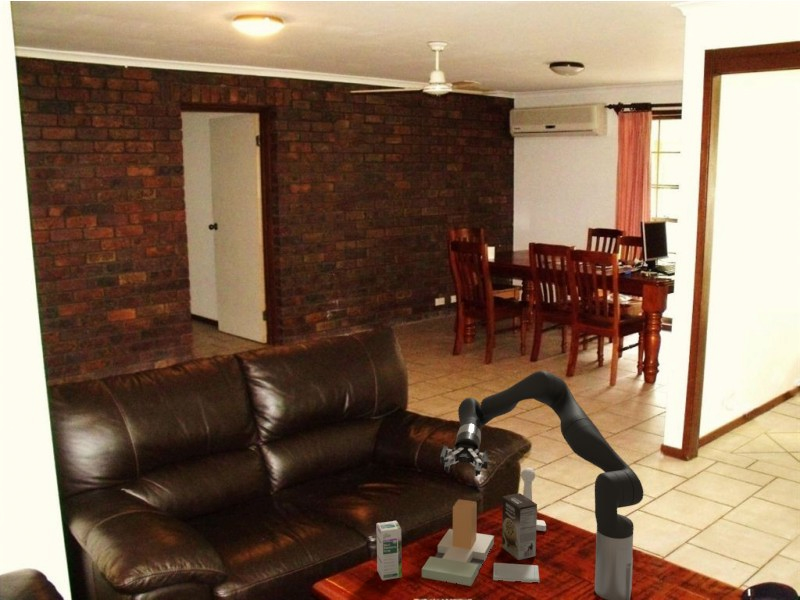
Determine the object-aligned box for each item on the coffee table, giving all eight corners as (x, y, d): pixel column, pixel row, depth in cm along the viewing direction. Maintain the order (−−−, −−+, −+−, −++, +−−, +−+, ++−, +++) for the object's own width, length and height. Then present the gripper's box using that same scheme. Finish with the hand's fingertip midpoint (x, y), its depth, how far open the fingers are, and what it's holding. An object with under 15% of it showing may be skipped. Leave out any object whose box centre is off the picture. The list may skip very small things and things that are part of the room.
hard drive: (493, 576, 212) (539, 579, 210) (493, 562, 220) (538, 564, 218) (493, 582, 212) (539, 584, 210) (493, 567, 220) (538, 569, 218)
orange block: (476, 540, 230) (476, 501, 228) (471, 549, 224) (471, 509, 222) (458, 537, 232) (458, 499, 230) (452, 546, 226) (452, 507, 224)
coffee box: (500, 547, 230) (501, 495, 228) (519, 543, 233) (520, 492, 231) (517, 560, 222) (518, 507, 220) (536, 556, 225) (537, 503, 222)
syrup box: (381, 581, 212) (381, 531, 209) (376, 570, 217) (376, 521, 215) (402, 578, 213) (401, 528, 211) (396, 567, 219) (396, 519, 216)
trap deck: (493, 543, 233) (493, 535, 232) (471, 586, 209) (471, 577, 208) (449, 536, 238) (449, 528, 237) (421, 577, 213) (421, 568, 213)
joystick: (543, 525, 244) (544, 465, 241) (548, 536, 237) (549, 474, 234) (508, 526, 244) (509, 465, 241) (511, 537, 237) (512, 474, 234)
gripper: (445, 428, 241) (438, 458, 227) (491, 433, 239) (486, 464, 224) (445, 448, 244) (437, 479, 230) (490, 453, 242) (485, 485, 227)
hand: (461, 472), depth 227 cm, fingers open, 8 cm apart
